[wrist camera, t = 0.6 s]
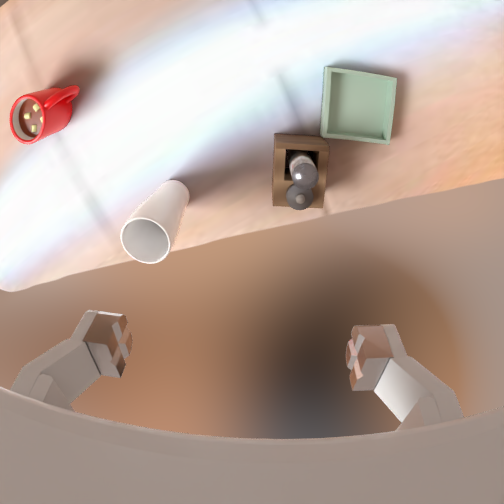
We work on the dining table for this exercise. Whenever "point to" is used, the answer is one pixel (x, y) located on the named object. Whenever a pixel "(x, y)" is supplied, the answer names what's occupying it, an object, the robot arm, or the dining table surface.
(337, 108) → the tray
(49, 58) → the dining table surface
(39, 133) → the mug
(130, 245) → the white tall cup
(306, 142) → the tensioner block
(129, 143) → the dining table surface
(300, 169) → the pin
